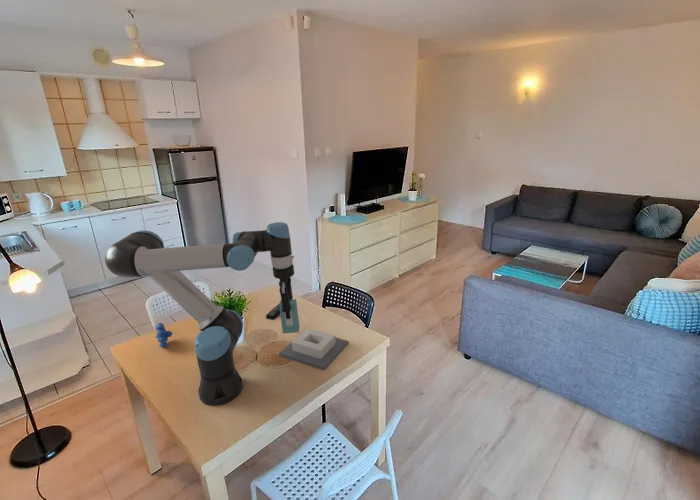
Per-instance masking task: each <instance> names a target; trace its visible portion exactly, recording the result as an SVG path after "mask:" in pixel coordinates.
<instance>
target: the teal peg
mask: <svg viewBox="0 0 700 500" xmlns="http://www.w3.org/2000/svg"><path fill="white" fill-rule="evenodd" d="M279 303H280V304H279ZM279 303H278V304H279V309H280V315H279V317H280V322H281V328H282V334H293V333H294V334H296V333H300V327H301V326H300V320H299V312H298V304H297V303H298V302H297V298H293V299H292V300H290V307H291V310H292V317H293V325H291V326H286V322H285V315H284V312H283V311H282V309H283V308H282V301H281V300H280V301H279Z"/></svg>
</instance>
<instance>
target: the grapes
mask: <svg viewBox="0 0 700 500" xmlns="http://www.w3.org/2000/svg"><path fill="white" fill-rule="evenodd" d="M155 330H156V331H157V332H156V336H155V338H156V339H157V342H158V343H159V345H158V346H159V347H160V348H162V349H166V348H167V347H168V345H169V343H168V340H169V338H170V337H172V335H173V332H172V331H171V330H167V329H166V327H165V324H163V323H162V322H159V323H157V325H156V326H155Z"/></svg>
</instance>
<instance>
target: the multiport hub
mask: <svg viewBox="0 0 700 500" xmlns="http://www.w3.org/2000/svg"><path fill="white" fill-rule="evenodd" d="M279 304H280V302H279V303H278V304H277V305H276V306H275V307H274V308H272V309H271V310H269V312H268V313H267V314H265V319H267V320H273V321H274V320H276V319H277V317H280V309H279Z"/></svg>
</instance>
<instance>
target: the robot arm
mask: <svg viewBox="0 0 700 500" xmlns="http://www.w3.org/2000/svg"><path fill="white" fill-rule="evenodd" d="M232 236H233V237H232V240H231V241H232V242H231V243H219V244H217V243H215V244H205V245H204V244H203V245H191V246H189V245H188V246H178V247H177V246H176V247H165V245H164V241H163V239H162V238H161V236H159V235H158V234H157V233H155V232H154V231H151V230H144V229H143V230H137V231H135V232H132V233H130V234H128V235H127V236H125V237H124V238H122V239H120V240H119V241H116V242H114V243H113V244H112V245H110V246H109V248H108V249H107V250H106V252H105V256H104V263H105V266H106V267H107V269H108V270H109V271H110V272H111V274H112V275H113V274H114V275H115V276H118V277H122V278H150V279H151V280H152V281H153V283H155V284H156V285H158V287H160V289H162V291H164V292H165V293H166V294H167V295H168V296H169V297H170V298H172V300H174V302H176V303H177V304H178V305H179V306H180V307H181V308H182V309H183V310H184V311H186V313H188V314H189V315H190V316H191V317H192V318H193V319H194V320H195V321H197V323H198V330H199V331H200V332H199V333H198V334H197V335H196V337H195V339H194V352H195V355H196V361H197V366H198V369H199V374H200V381H199V387H198V397H199V400H200V401H201V403H203V404H205V405H207V406H220V405H223V404H227V403H229V402H231V401H233V400H235V399H236V398H237V397H238V396H239V395H240V394H241V392H242V391H243V388H244V387H243V386H244V384H243V379H242V376H241V375H240V374H239V371H238V370H237V369H236V366H235V365H236V364H235V361H234V360H235V359H234V350H235V349H236V346H237V343H238V341H239V339H240V337H241V336H242V334H243V330H244V329H243V328H244V321H243V318H242V316H241V315H240V314H239V313H238V312H237V311H235V310H233V309H226V308H225V307H224V305H218V306H217V305H216V304H215V303H214V302H213V301H212V300H211V299H210V298H209V297H208V296H207V295H206V294H204V292H203V291H202V290H201V289H200V288H198V287H197V286H196V284H194V283H193V282H192V281H191V280H190V279H189V278H188V277H187V276H186V274H184V273H183V271H193V270H206V269H207V270H209V269H221V268H230V269H232V270H234V271H238V272H240V271H245V270H247V269H248V268H249V267H250V266H251V265H252V264H253V262H254V261H255V258H256V256H257V255H258V253H261V252H262V253H264V252H269V253H270V261H271V266H272V274H273V277H274V278H275V279H279V281H278V286H279V294H280V301H282V308H283V309H282V311H283V312H284V315H285V322H286V326H291V325H293V317H292V310H291V307H290V300H293V299H294V297H293V289H292V283H291V282H292V277H293V276H294V275H295V268H294V264H293V263H294V261H293V259H294V258H295V255H292V254H293V253H292V251H293V250H292V244H291V242H292V241H291V235H290V230H289V226H288V223H286V222H283V221H282V222H281V221H279V222H272V223H269V224H268V225H266V229H265V230H251V231H248V230H247V231H244V230H243V231H239V232H235V233H234V234H233V235H232Z"/></svg>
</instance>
